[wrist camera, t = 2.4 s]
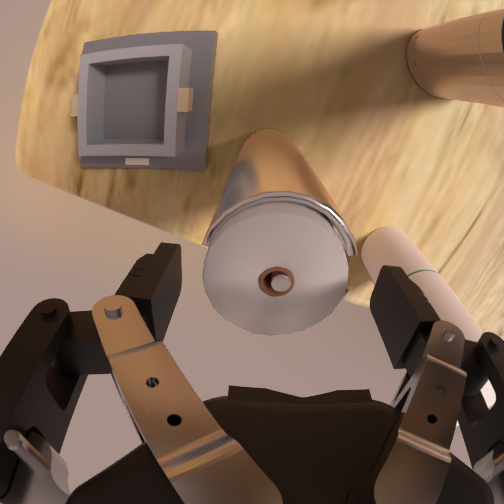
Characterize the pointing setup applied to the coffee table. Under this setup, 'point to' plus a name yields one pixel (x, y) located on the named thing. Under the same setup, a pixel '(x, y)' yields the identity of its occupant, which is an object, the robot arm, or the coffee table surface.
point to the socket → (146, 100)
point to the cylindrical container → (421, 282)
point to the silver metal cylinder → (276, 242)
